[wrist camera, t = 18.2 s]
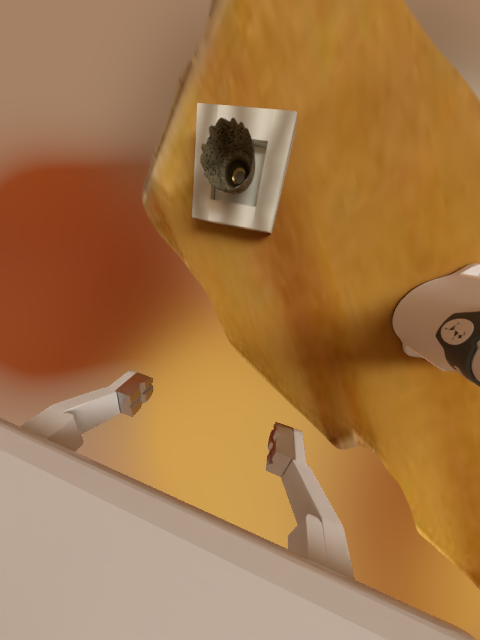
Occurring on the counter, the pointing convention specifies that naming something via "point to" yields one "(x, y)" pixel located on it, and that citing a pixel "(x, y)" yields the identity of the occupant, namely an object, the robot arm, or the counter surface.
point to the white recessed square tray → (270, 169)
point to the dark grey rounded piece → (228, 156)
